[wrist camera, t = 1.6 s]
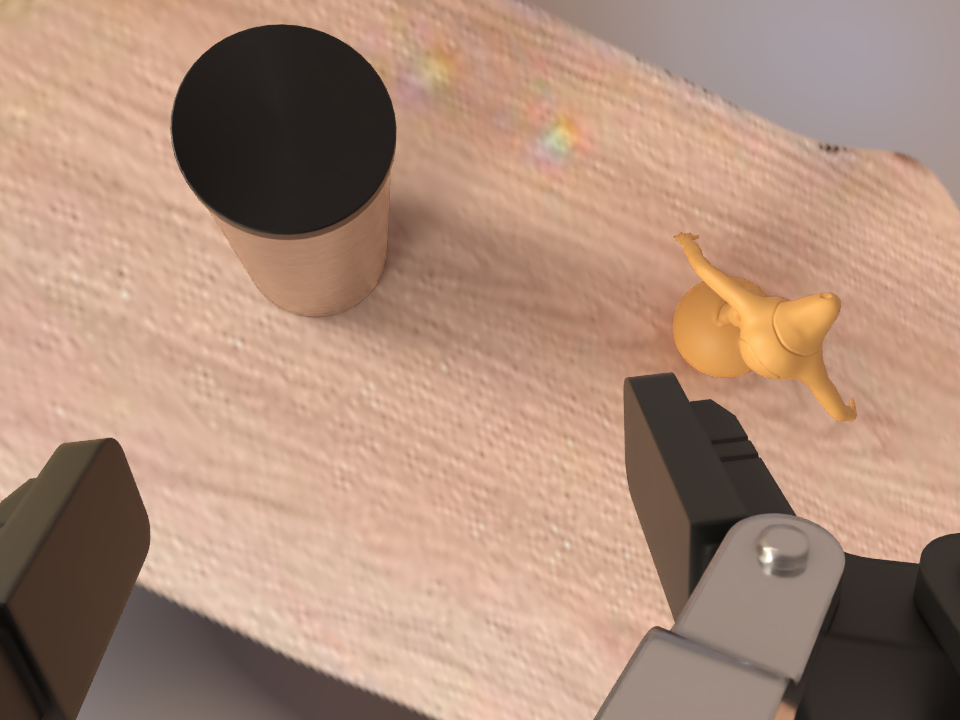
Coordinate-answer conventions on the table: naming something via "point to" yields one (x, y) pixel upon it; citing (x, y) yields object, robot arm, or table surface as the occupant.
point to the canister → (291, 162)
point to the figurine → (755, 331)
